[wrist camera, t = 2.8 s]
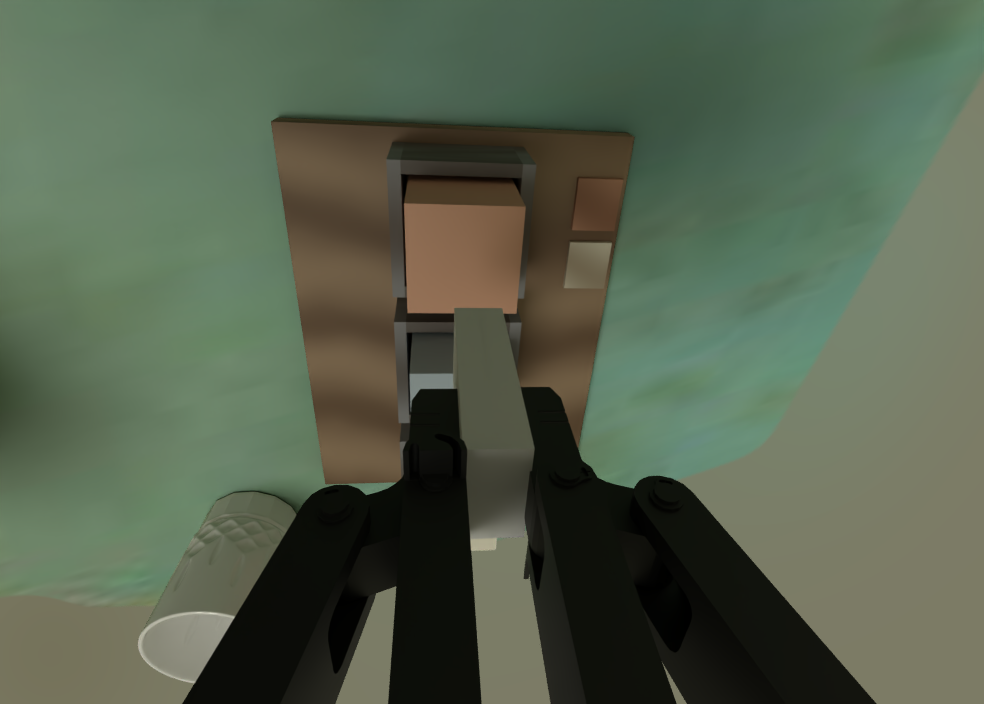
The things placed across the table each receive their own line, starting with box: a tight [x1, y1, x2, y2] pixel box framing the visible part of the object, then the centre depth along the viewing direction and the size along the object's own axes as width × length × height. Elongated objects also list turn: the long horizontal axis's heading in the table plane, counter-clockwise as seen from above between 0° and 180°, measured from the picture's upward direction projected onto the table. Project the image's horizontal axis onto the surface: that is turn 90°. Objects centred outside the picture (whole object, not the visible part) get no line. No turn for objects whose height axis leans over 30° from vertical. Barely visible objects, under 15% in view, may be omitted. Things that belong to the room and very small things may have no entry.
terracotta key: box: [404, 174, 526, 314], centre depth 24 cm, size 5×5×5 cm
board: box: [271, 118, 635, 484], centre depth 32 cm, size 24×18×5 cm
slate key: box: [410, 332, 454, 404], centre depth 29 cm, size 5×5×5 cm
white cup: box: [138, 492, 296, 683], centre depth 37 cm, size 8×8×10 cm
